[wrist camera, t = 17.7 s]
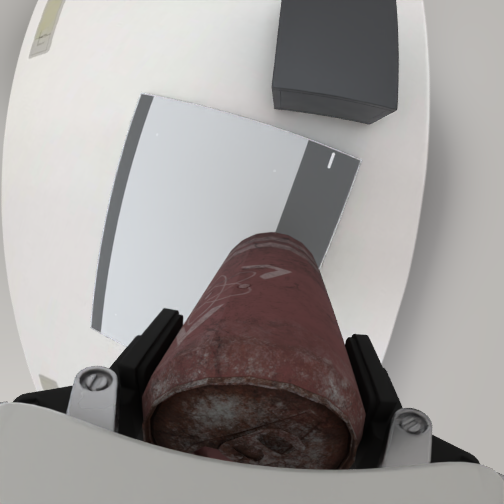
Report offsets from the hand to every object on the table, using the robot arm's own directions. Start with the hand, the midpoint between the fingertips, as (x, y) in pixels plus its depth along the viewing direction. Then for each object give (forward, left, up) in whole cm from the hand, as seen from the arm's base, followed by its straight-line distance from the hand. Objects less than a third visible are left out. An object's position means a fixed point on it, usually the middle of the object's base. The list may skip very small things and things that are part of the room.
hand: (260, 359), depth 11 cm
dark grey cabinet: (-14, -14, -23) cm, 30 cm away
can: (0, 0, -9) cm, 9 cm away
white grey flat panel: (+9, -2, -23) cm, 24 cm away
